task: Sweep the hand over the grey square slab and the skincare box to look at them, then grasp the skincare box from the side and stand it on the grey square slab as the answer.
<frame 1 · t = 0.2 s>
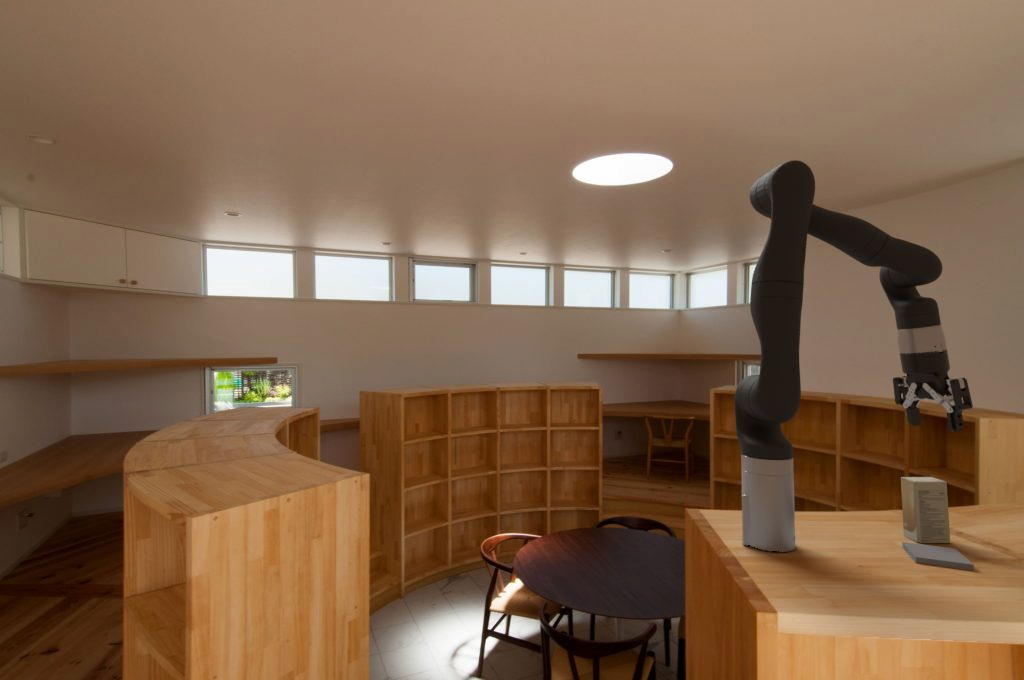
hand: (935, 428, 100), 22 cm above the counter, tool pointing down, fingers open, 8 cm apart
grey square slab: (936, 558, 90), on the counter
skincare box: (925, 540, 100), on the counter
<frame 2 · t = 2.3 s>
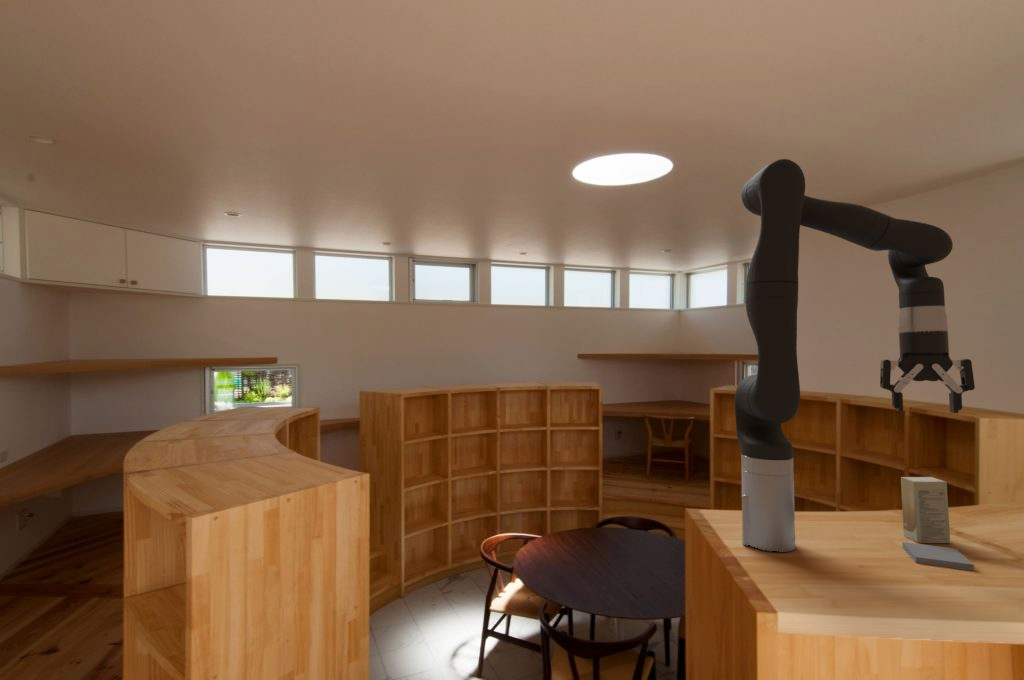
hand: (926, 411, 98), 26 cm above the counter, tool pointing down, fingers open, 8 cm apart
nothing on the counter moved.
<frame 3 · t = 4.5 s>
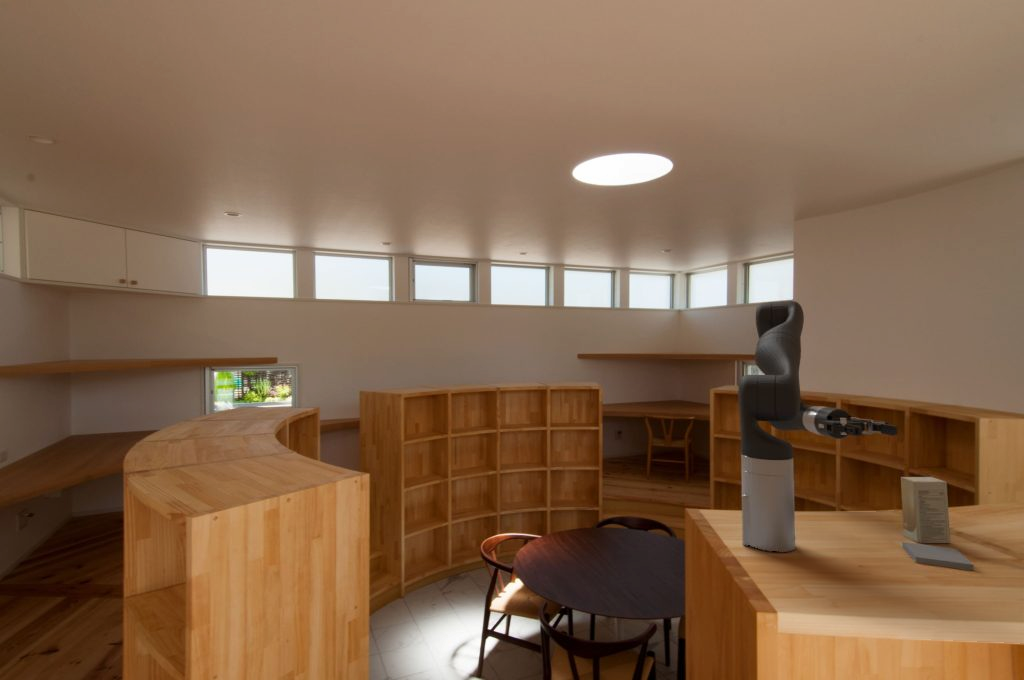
hand: (878, 431, 111), 20 cm above the counter, tool horizontal, fingers open, 8 cm apart
nothing on the counter moved.
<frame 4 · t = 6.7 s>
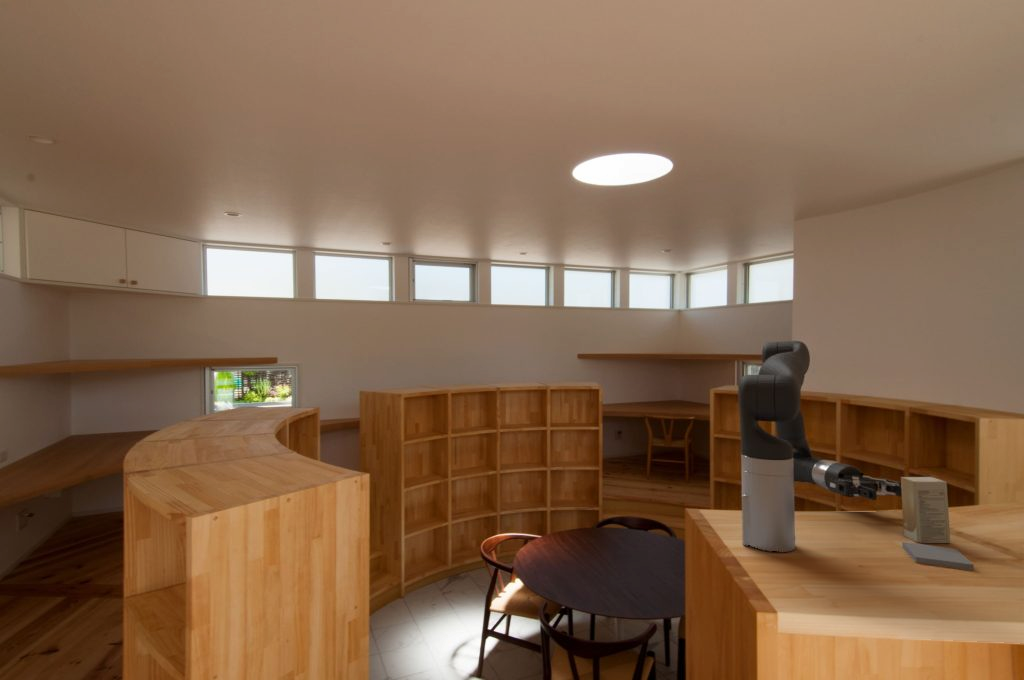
hand: (893, 494, 107), 7 cm above the counter, tool horizontal, fingers open, 8 cm apart
nothing on the counter moved.
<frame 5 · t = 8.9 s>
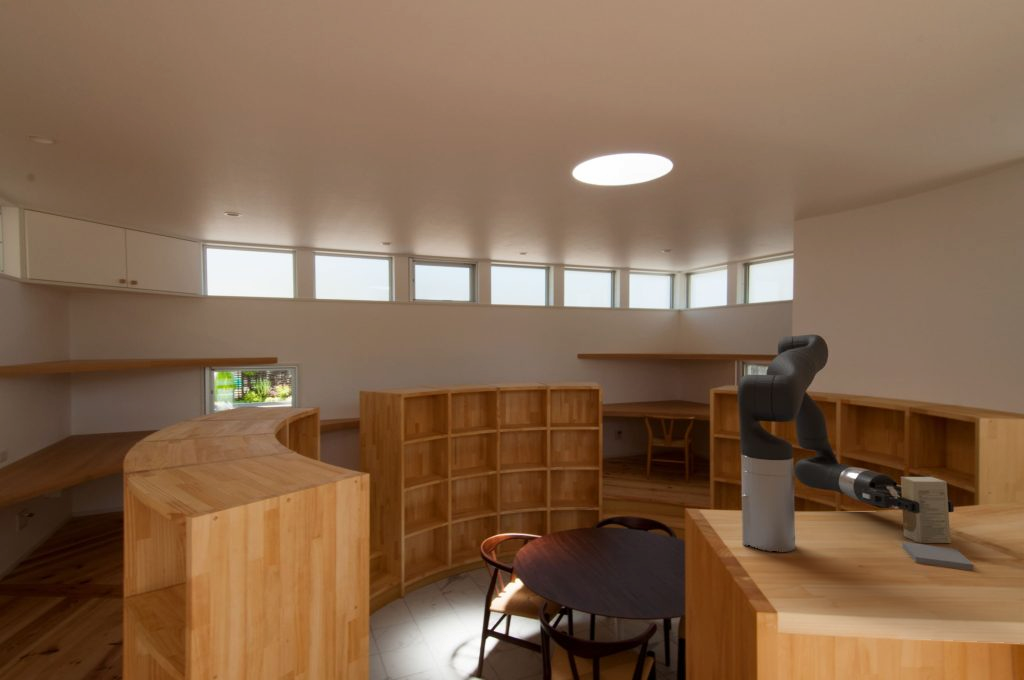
hand: (934, 507, 98), 7 cm above the counter, tool horizontal, fingers closed on skincare box, 6 cm apart
skincare box: (925, 540, 100), on the counter, touching gripper
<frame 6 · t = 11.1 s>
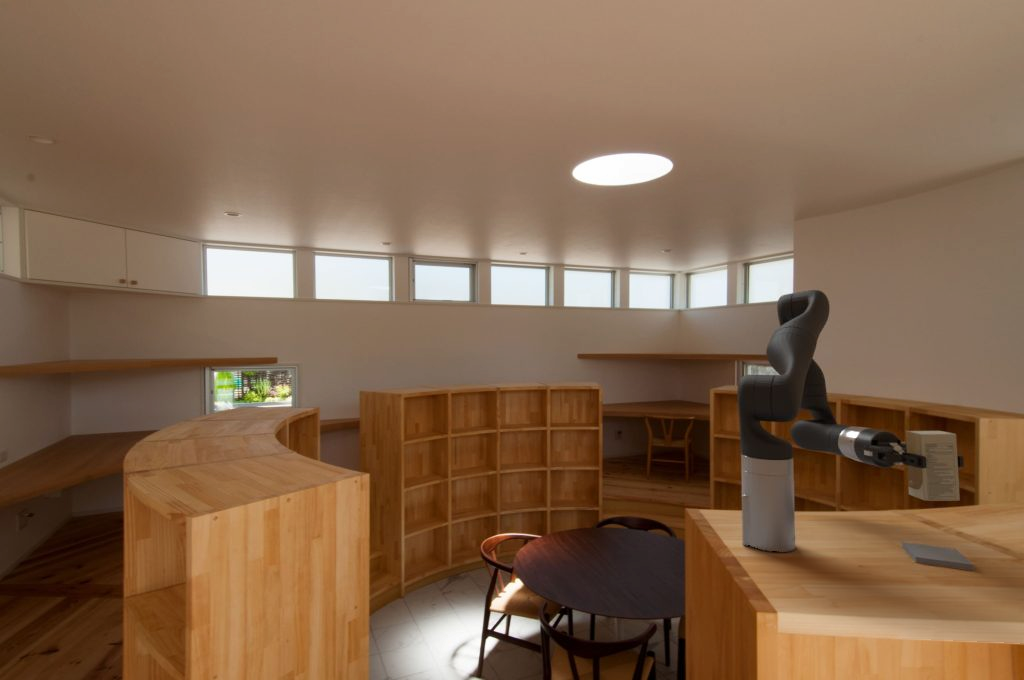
hand: (943, 462, 89), 18 cm above the counter, tool horizontal, fingers closed on skincare box, 6 cm apart
skincare box: (932, 499, 91), point 10 cm above the counter, touching gripper
when the fingers open (9 cm above the counter, at t = 13.4 s): skincare box drops 1 cm, resting on grey square slab.
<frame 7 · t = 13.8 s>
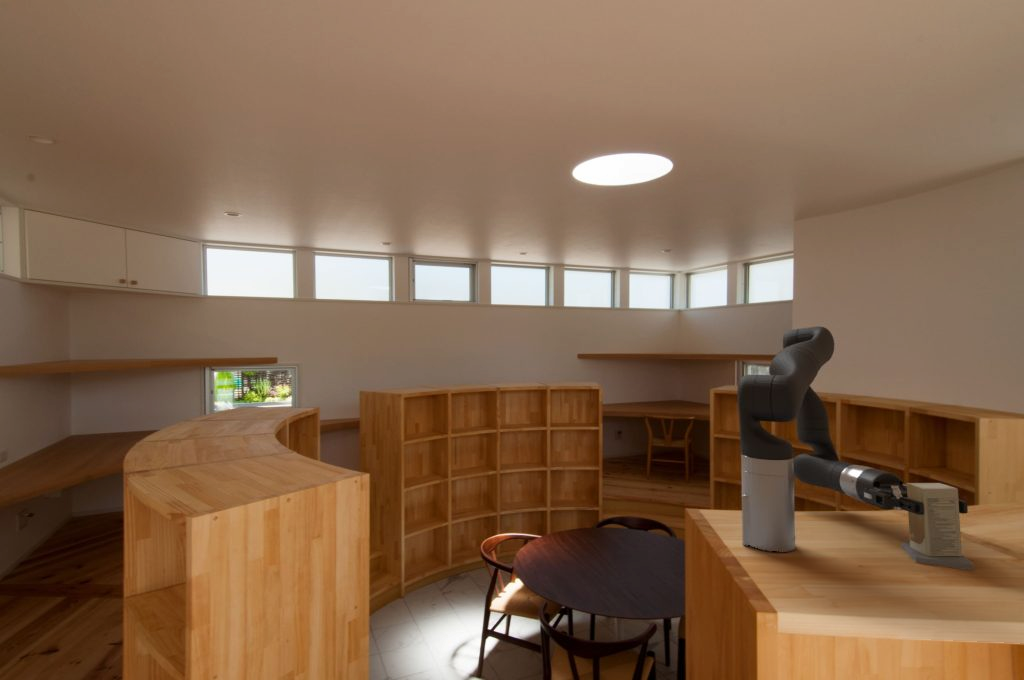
hand: (944, 508, 89), 10 cm above the counter, tool horizontal, fingers open, 8 cm apart
skincare box: (934, 553, 90), point 1 cm above the counter, touching grey square slab
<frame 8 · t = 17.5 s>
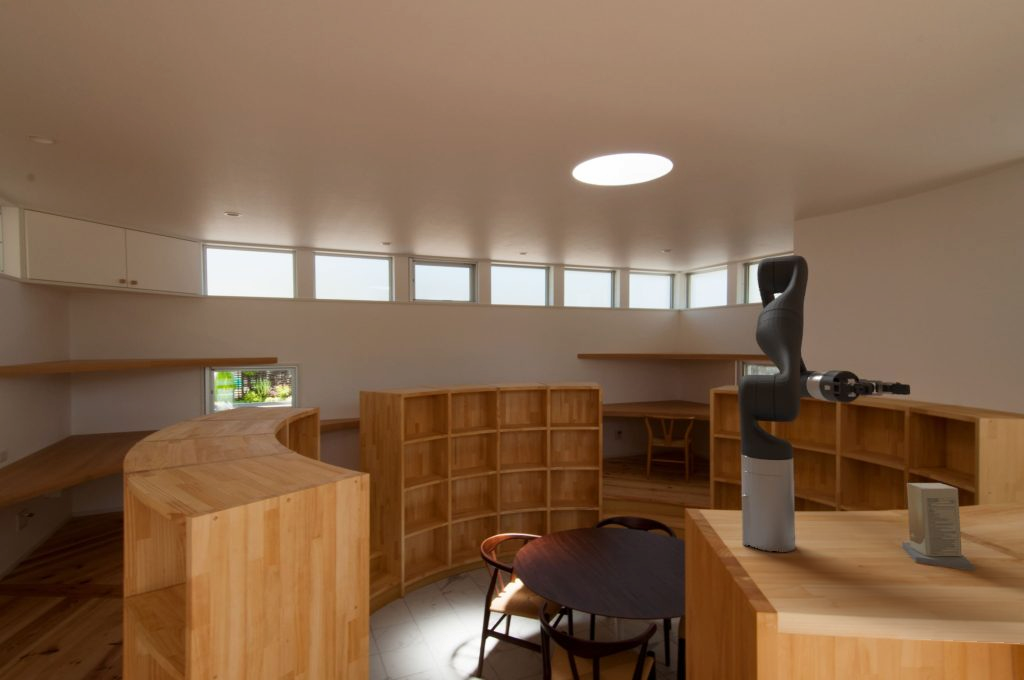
hand: (889, 389, 103), 30 cm above the counter, tool horizontal, fingers open, 8 cm apart
nothing on the counter moved.
at the end: skincare box inside the target area on the grey square slab (0.2 cm from its centre), point 0.8 cm above the grey square slab's base; skincare box tilted 0°; the gripper is holding nothing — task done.
